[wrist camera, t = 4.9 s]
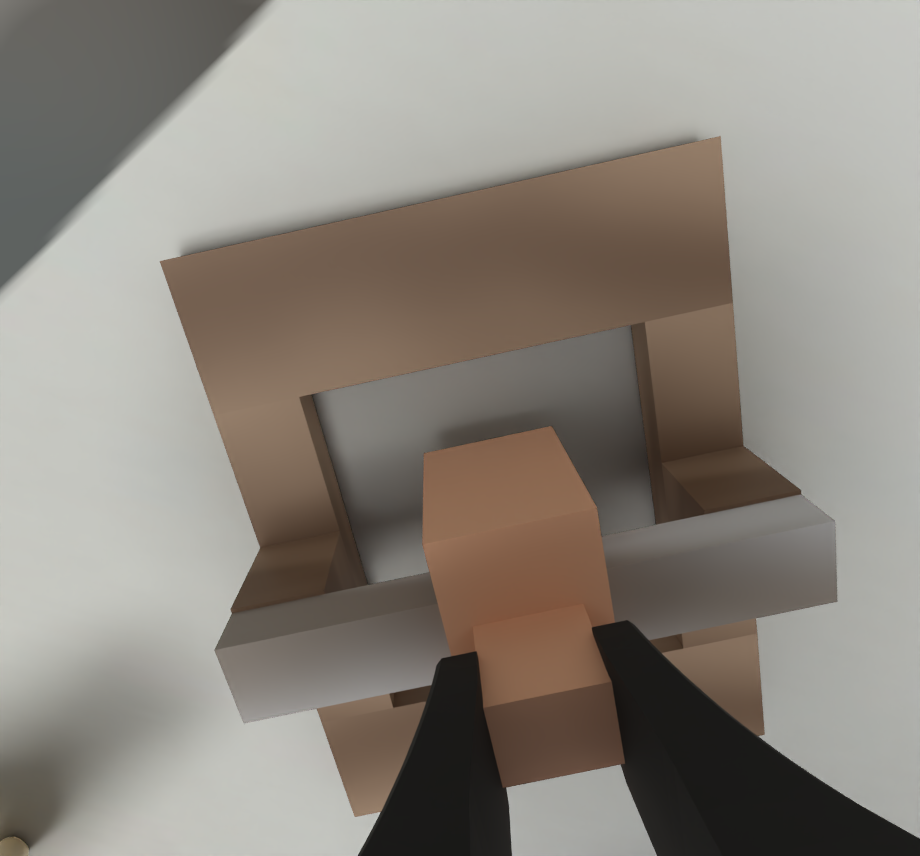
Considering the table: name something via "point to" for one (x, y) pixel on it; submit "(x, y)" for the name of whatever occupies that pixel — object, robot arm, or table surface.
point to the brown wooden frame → (465, 338)
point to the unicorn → (13, 847)
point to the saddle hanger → (525, 599)
